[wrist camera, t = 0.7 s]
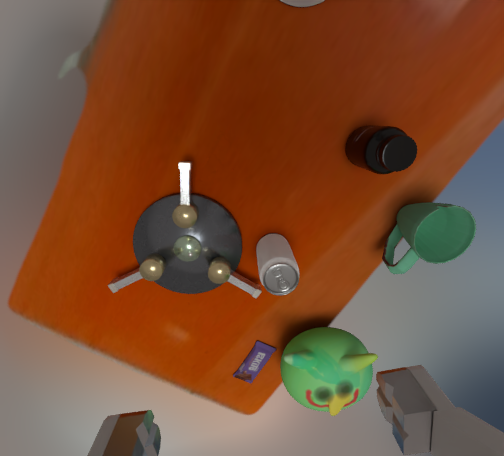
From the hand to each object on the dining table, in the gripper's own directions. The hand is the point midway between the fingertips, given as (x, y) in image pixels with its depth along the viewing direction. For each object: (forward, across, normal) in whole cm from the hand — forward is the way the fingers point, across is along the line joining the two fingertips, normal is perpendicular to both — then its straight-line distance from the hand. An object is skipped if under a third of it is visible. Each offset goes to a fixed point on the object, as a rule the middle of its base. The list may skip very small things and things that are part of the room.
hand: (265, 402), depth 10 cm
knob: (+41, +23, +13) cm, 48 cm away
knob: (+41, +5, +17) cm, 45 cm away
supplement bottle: (+43, -21, -3) cm, 48 cm away
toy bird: (+43, -9, +38) cm, 58 cm away
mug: (+43, -28, +13) cm, 53 cm away
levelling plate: (+43, +13, +10) cm, 45 cm away
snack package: (+44, +5, +41) cm, 60 cm away
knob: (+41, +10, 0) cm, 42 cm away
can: (+43, -3, +13) cm, 45 cm away
